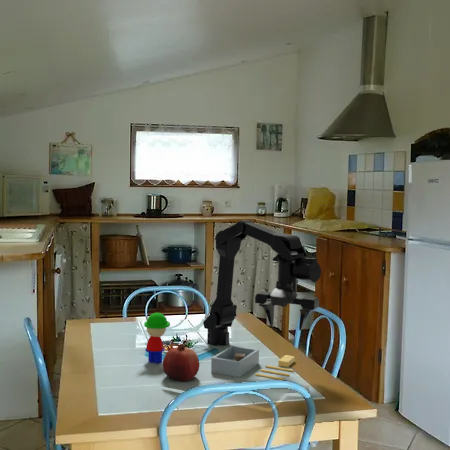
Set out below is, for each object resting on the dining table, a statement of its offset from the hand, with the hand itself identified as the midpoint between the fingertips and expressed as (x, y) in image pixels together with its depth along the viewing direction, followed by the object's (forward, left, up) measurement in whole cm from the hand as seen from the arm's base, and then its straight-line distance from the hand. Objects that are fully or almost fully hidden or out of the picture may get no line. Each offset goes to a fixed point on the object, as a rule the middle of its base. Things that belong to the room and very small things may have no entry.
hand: (285, 328), depth 174 cm
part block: (-12, -7, -11) cm, 18 cm away
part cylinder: (-12, -13, -11) cm, 21 cm away
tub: (-12, -10, -12) cm, 20 cm away
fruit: (-22, -25, -12) cm, 35 cm away
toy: (-37, -14, -12) cm, 41 cm away
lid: (0, -6, -12) cm, 14 cm away
